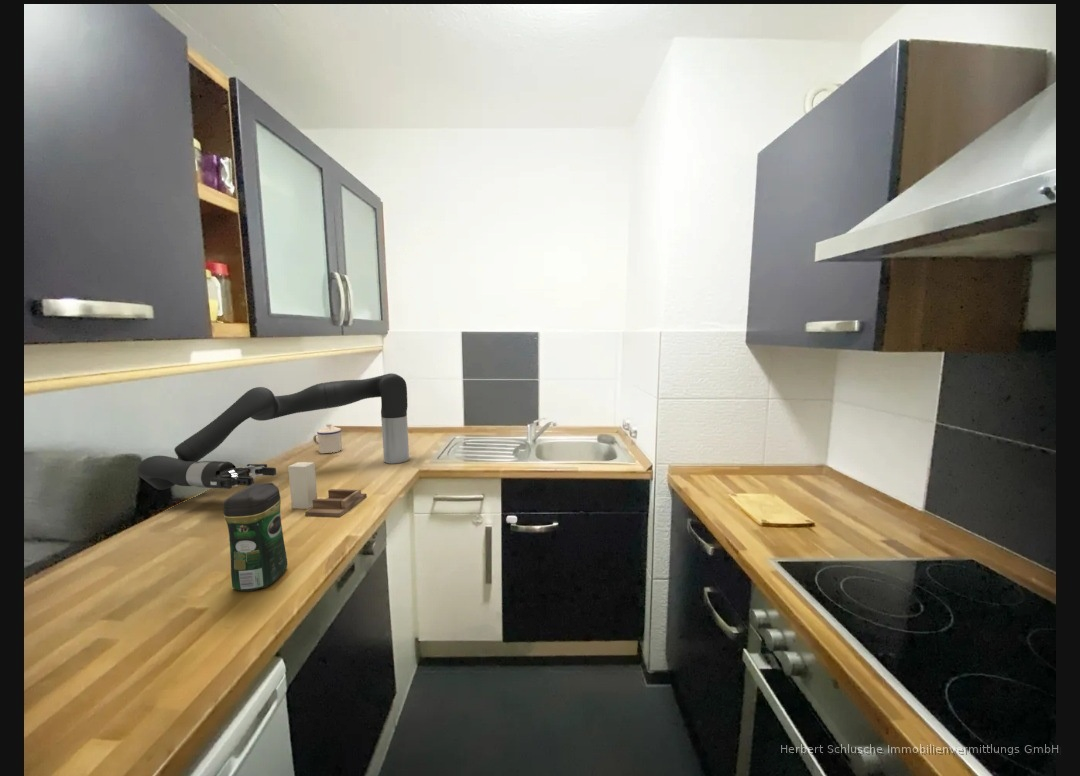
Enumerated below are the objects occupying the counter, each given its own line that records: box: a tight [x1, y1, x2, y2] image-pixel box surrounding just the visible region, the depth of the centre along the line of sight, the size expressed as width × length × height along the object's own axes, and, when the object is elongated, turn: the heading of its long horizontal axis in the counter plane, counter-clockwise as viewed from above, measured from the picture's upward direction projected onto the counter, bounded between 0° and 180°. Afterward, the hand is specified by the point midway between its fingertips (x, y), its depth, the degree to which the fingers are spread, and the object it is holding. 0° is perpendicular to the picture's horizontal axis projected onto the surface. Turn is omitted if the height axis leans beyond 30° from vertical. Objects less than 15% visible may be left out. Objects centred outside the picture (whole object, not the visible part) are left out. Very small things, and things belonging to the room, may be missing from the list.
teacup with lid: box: [312, 423, 343, 454], centre depth 175 cm, size 12×9×12 cm
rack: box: [304, 488, 368, 518], centre depth 118 cm, size 14×10×3 cm
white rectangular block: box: [287, 461, 318, 510], centre depth 118 cm, size 4×5×12 cm
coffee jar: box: [222, 482, 288, 592], centre depth 82 cm, size 10×8×19 cm
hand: (264, 476), depth 119 cm, fingers open, 8 cm apart
